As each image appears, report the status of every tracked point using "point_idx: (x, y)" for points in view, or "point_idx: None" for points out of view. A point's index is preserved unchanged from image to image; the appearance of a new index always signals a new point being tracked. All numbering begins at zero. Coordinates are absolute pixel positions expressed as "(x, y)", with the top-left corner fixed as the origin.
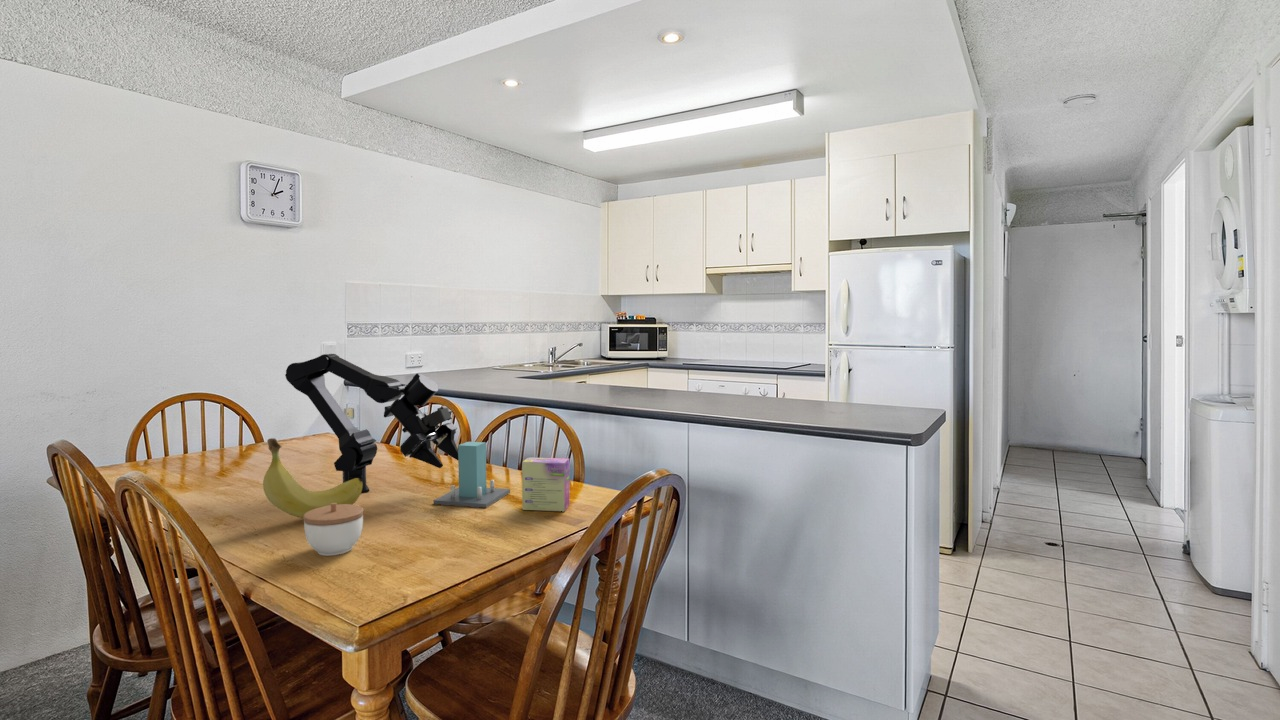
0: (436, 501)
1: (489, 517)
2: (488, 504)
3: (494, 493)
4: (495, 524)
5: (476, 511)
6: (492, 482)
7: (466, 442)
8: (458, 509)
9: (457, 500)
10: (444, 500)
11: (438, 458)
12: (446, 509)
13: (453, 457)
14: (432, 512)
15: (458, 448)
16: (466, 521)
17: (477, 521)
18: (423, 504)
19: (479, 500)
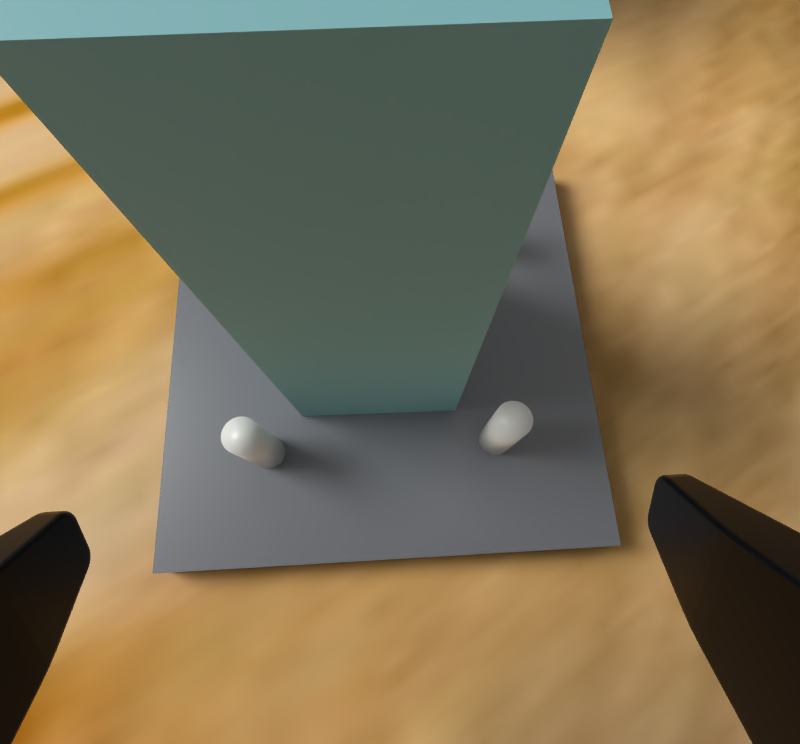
0: (611, 518)
1: (681, 94)
2: None
3: None
4: (760, 28)
5: (621, 198)
6: None
7: (129, 16)
8: (633, 311)
9: (552, 363)
10: (589, 455)
11: (777, 556)
12: (667, 383)
13: (50, 659)
14: (765, 434)
15: (578, 96)
16: (797, 160)
17: (767, 114)
18: (639, 628)
19: None
